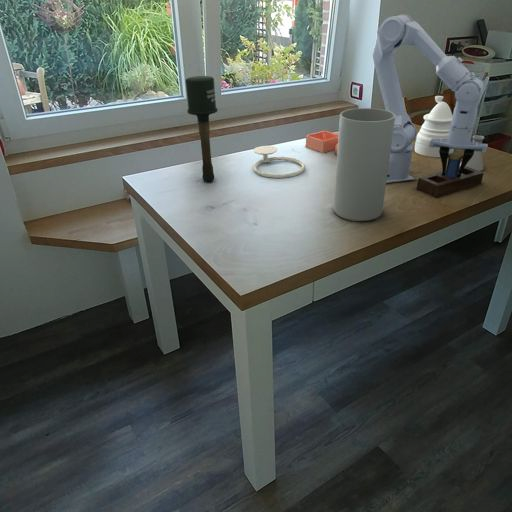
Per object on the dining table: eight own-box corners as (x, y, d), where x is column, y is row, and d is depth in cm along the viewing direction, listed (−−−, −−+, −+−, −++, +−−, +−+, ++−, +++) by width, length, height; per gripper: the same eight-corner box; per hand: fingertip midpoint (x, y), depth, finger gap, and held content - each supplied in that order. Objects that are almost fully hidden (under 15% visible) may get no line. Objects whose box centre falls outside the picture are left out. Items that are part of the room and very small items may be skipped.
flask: (480, 173, 134) (488, 141, 129) (455, 169, 138) (462, 138, 133) (486, 166, 139) (494, 135, 134) (462, 162, 143) (469, 132, 138)
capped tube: (447, 188, 125) (453, 157, 120) (439, 183, 128) (445, 153, 123) (458, 186, 126) (465, 156, 121) (451, 182, 129) (457, 152, 124)
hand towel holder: (272, 169, 131) (237, 151, 146) (272, 183, 133) (238, 164, 148) (316, 157, 138) (278, 141, 153) (315, 170, 141) (278, 153, 156)
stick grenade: (218, 186, 132) (210, 81, 116) (191, 185, 134) (179, 81, 118) (225, 176, 139) (218, 75, 123) (199, 174, 141) (189, 75, 125)
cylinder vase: (348, 197, 122) (356, 105, 109) (390, 209, 115) (404, 112, 102) (324, 214, 114) (330, 116, 101) (368, 227, 107) (380, 124, 94)
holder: (416, 189, 126) (418, 177, 124) (460, 176, 133) (463, 165, 132) (436, 197, 121) (438, 186, 119) (480, 183, 128) (483, 172, 126)
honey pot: (406, 149, 156) (414, 96, 147) (434, 143, 161) (443, 92, 151) (433, 159, 146) (443, 104, 137) (461, 153, 151) (473, 99, 141)
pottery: (305, 146, 162) (306, 119, 156) (324, 141, 166) (325, 115, 161) (341, 159, 149) (343, 130, 144) (360, 153, 154) (363, 125, 149)
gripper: (492, 124, 118) (479, 172, 125) (435, 120, 124) (426, 166, 131) (491, 131, 113) (478, 181, 120) (432, 126, 118) (423, 174, 125)
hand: (451, 174), depth 125 cm, fingers closed on capped tube, 3 cm apart
